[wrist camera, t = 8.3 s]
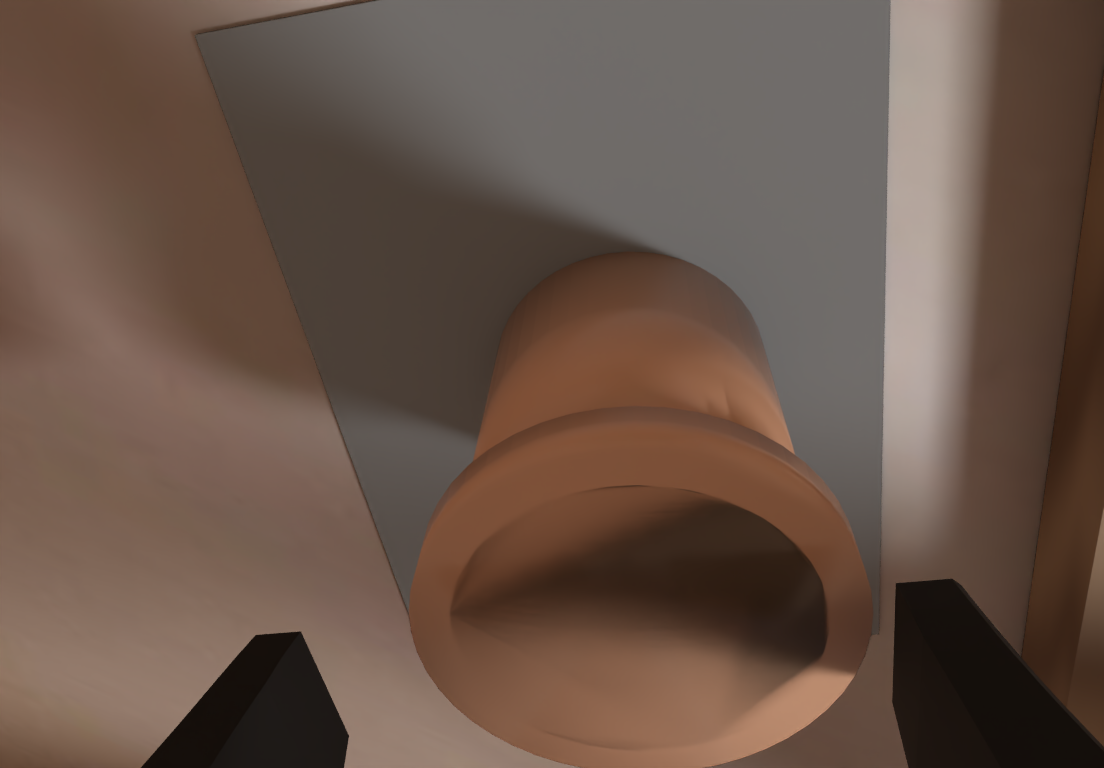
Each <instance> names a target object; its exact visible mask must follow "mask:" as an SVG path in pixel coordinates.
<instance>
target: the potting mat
mask: <svg viewBox="0 0 1104 768" xmlns="http://www.w3.org/2000/svg"><path fill="white" fill-rule="evenodd" d="M195 38H196V40H197V43H198V46H199V48H200V51H201V54H202V57H203V59H204V62H205V65H206V67H207V70H208V73H209V75H210V78H211V81H212V84H213V86H214V89H215V92H216V94H217V97H218V100H219V102H220V105H221V108H222V111H223V113H224V116H225V119H226V121H227V124H228V127H229V130H230V132H231V135H232V138H233V140H234V143H235V146H236V148H237V151H238V154H239V157H240V159H241V162H242V165H243V167H244V170H245V173H246V175H247V178H248V181H249V184H250V186H251V189H252V192H253V194H254V197H255V200H256V202H257V205H258V208H259V211H260V213H261V216H262V219H263V221H264V224H265V227H266V230H267V232H268V235H269V238H270V240H271V243H272V246H273V248H274V251H275V254H276V257H277V259H278V262H279V265H280V267H281V270H282V273H283V275H284V278H285V281H286V284H287V286H288V289H289V292H290V294H291V297H292V300H293V303H294V305H295V308H296V311H297V313H298V316H299V319H300V321H301V324H302V327H303V330H304V332H305V335H306V338H307V340H308V343H309V346H310V348H311V351H312V354H313V357H314V359H315V362H316V365H317V367H318V370H319V373H320V375H321V378H322V381H323V384H324V386H325V389H326V392H327V394H328V397H329V400H330V403H331V405H332V408H333V411H334V413H335V416H336V419H337V421H338V424H339V427H340V430H341V432H342V435H343V438H344V440H345V443H346V446H347V448H348V451H349V454H350V457H351V459H352V462H353V465H354V467H355V470H356V473H357V476H358V478H359V481H360V484H361V486H362V489H363V492H364V494H365V497H366V500H367V503H368V505H369V508H370V511H371V513H372V516H373V519H374V521H375V524H376V527H377V530H378V532H379V535H380V538H381V540H382V543H383V546H384V548H385V551H386V554H387V557H388V559H389V562H390V565H391V567H392V570H393V573H394V576H395V578H396V581H397V584H398V586H399V589H400V592H401V594H402V597H403V600H404V603H405V605H406V608H407V611H408V613H409V603H410V590H411V586H412V582H413V578H414V575H415V571H416V567H417V563H418V559H419V556H420V552H421V548H422V544H423V541H424V537H425V533H426V529H427V526H428V523H429V520H430V518H431V516H432V514H433V512H434V510H435V507H436V505H437V503H438V502H439V500H440V499H441V497H442V496H443V494H444V493H445V492H446V490H447V489H448V487H449V486H450V484H451V483H452V482H453V481H454V480H455V479H456V478H457V477H458V476H459V475H460V473H461V472H462V471H463V470H464V469H465V468H466V467H467V466H468V465H469V464H471V463H472V462H473V458H474V454H475V449H476V445H477V440H478V436H479V431H480V427H481V422H482V417H483V413H484V408H485V404H486V399H487V395H488V390H489V386H490V381H491V377H492V372H493V367H494V363H495V358H496V354H497V349H498V345H499V342H500V338H501V335H502V332H503V330H504V328H505V325H506V323H507V321H508V319H509V317H510V316H511V314H512V313H513V311H514V310H515V308H516V306H517V305H518V304H519V303H520V302H521V300H522V299H523V298H524V297H525V296H526V295H527V293H528V292H530V291H531V290H532V289H533V288H534V287H535V286H536V285H538V284H539V283H540V282H541V281H542V280H544V279H545V278H547V277H548V276H550V275H551V274H553V273H554V272H556V271H558V270H560V269H562V268H564V267H566V266H568V265H570V264H572V263H575V262H578V261H581V260H584V259H586V258H589V257H594V256H598V255H603V254H608V253H618V252H648V253H655V254H661V255H667V256H670V257H674V258H677V259H681V260H684V261H686V262H689V263H691V264H693V265H696V266H698V267H701V268H702V269H704V270H706V271H707V272H709V273H711V274H712V275H714V276H716V277H717V278H718V279H720V280H721V281H722V282H723V283H725V284H726V285H727V286H728V287H730V288H731V289H732V290H733V291H734V293H735V294H736V295H737V296H738V297H739V298H740V299H741V300H742V301H743V303H744V304H745V306H746V307H747V308H748V310H749V311H750V313H751V314H752V316H753V318H754V320H755V322H756V324H757V326H758V329H759V332H760V335H761V338H762V341H763V345H764V348H765V352H766V355H767V359H768V362H769V366H770V369H771V372H772V376H773V379H774V383H775V386H776V390H777V393H778V397H779V400H780V404H781V407H782V411H783V414H784V418H785V421H786V425H787V428H788V432H789V435H790V439H791V442H792V445H793V449H794V452H795V455H796V456H797V457H799V458H800V459H801V460H803V461H804V462H805V463H806V464H807V465H808V466H809V467H810V468H811V469H812V470H813V471H814V472H815V473H816V474H817V475H818V476H819V477H820V478H821V479H822V480H823V481H824V482H825V483H826V485H827V486H828V487H829V489H830V490H831V491H832V493H833V494H834V495H835V497H836V498H837V500H838V501H839V503H840V505H841V507H842V509H843V511H844V513H845V515H846V517H847V519H848V521H849V523H850V526H851V529H852V532H853V535H854V538H855V541H856V544H857V547H858V550H859V553H860V556H861V559H862V562H863V565H864V568H865V571H866V575H867V578H868V581H869V585H870V588H871V593H872V604H873V622H872V632H871V635H874V634H879V602H880V547H881V492H882V437H883V382H884V328H885V273H886V218H887V163H888V108H889V54H890V0H374V1H369V2H363V3H358V4H353V5H348V6H342V7H337V8H332V9H327V10H321V11H316V12H311V13H306V14H300V15H295V16H290V17H284V18H279V19H274V20H269V21H263V22H258V23H253V24H248V25H242V26H237V27H232V28H227V29H221V30H216V31H211V32H206V33H200V34H196V35H195Z"/></svg>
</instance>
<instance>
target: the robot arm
mask: <svg viewBox="0 0 1104 768" xmlns="http://www.w3.org/2000/svg"><path fill="white" fill-rule="evenodd" d="M892 702H893V707H894V711H895V715H896V719H897V723H898V727H899V731H900V735H901V739H902V743H903V747H904V751H905V755H906V759H907V763H908V767H909V768H1104V746H1103V745H1102V744H1101V743H1100V742H1099V741H1098V740H1097V739H1096V738H1095V737H1094V736H1093V735H1092V734H1091V733H1090V732H1089V731H1088V730H1087V729H1086V727H1085V726H1084V725H1083V724H1082V723H1081V722H1080V721H1079V720H1078V719H1077V718H1076V717H1075V716H1074V715H1073V714H1072V713H1071V712H1070V711H1069V710H1068V709H1067V708H1066V707H1065V705H1064V704H1063V703H1062V702H1061V701H1060V700H1059V699H1058V698H1057V697H1056V696H1055V695H1054V694H1053V693H1052V691H1051V690H1050V689H1049V688H1048V687H1047V686H1046V685H1045V684H1044V683H1043V682H1042V680H1041V679H1040V678H1039V677H1038V676H1037V675H1036V674H1035V673H1034V671H1033V670H1032V669H1031V668H1030V667H1029V666H1028V665H1027V663H1026V662H1025V661H1024V660H1023V659H1022V658H1021V657H1020V656H1019V654H1018V653H1017V652H1016V651H1015V650H1014V649H1013V648H1012V646H1011V645H1010V644H1009V643H1008V642H1007V641H1006V639H1005V638H1004V637H1003V636H1002V635H1001V633H1000V632H999V631H998V630H997V629H996V628H995V626H994V625H993V624H992V623H991V622H990V620H989V619H988V618H987V617H986V615H985V614H984V613H983V612H982V611H981V609H980V608H979V607H978V606H977V604H976V603H975V602H974V601H973V600H972V598H971V597H970V596H969V594H968V593H967V592H966V591H965V589H964V588H963V587H962V586H961V585H960V584H959V583H957V582H956V581H954V580H953V579H944V580H932V581H919V582H907V583H896V598H895V631H894V665H893V699H892ZM348 738H349V735H348V733H347V731H346V729H345V726H344V724H343V722H342V720H341V718H340V716H339V713H338V711H337V709H336V707H335V705H334V703H333V700H332V698H331V696H330V694H329V692H328V690H327V687H326V685H325V683H324V681H323V679H322V677H321V674H320V672H319V670H318V668H317V666H316V664H315V661H314V659H313V657H312V655H311V653H310V651H309V648H308V646H307V644H306V642H305V640H304V638H303V635H302V633H301V632H289V633H276V634H264V635H255V637H254V638H253V639H252V640H251V641H250V642H249V643H248V644H247V645H246V647H245V648H244V649H243V650H242V651H241V652H240V653H239V655H238V656H237V657H236V658H235V659H234V660H233V661H232V663H231V664H230V665H229V666H228V667H227V668H226V670H225V671H224V672H223V673H222V674H221V675H220V677H219V678H218V679H217V680H216V681H215V682H214V684H213V685H212V686H211V687H210V688H209V690H208V691H207V692H206V693H205V694H204V695H203V697H202V698H201V699H200V700H199V701H198V703H197V704H196V705H195V706H194V707H193V708H192V710H191V711H190V712H189V713H188V714H187V715H186V717H185V718H184V719H183V720H182V721H181V722H180V724H179V725H178V726H177V727H176V728H175V729H174V731H173V732H172V733H171V734H170V735H169V736H168V737H167V739H166V740H165V741H164V742H163V743H162V744H161V745H160V747H159V748H158V749H157V750H156V751H155V752H154V753H153V755H152V756H151V757H150V758H149V759H148V760H147V761H146V763H145V764H144V765H143V766H142V767H141V768H344V763H345V757H346V751H347V744H348Z"/></svg>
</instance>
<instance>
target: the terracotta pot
mask: <svg viewBox="0 0 1104 768" xmlns="http://www.w3.org/2000/svg"><path fill="white" fill-rule="evenodd" d="M409 617H410V626H411V633H412V636H413V640H414V643H415V647H416V650H417V653H418V655H419V657H420V659H421V661H422V663H423V665H424V667H425V669H426V671H427V673H428V674H429V676H430V677H431V679H432V680H433V681H434V683H435V684H436V686H437V687H438V689H439V690H440V691H441V692H442V693H443V694H444V695H445V696H446V698H447V699H448V700H449V701H450V702H451V703H452V704H453V705H454V706H455V707H456V708H457V709H458V710H460V711H461V712H462V713H463V714H464V715H465V716H467V717H468V718H469V719H470V720H471V721H473V722H474V723H476V724H477V725H479V726H480V727H482V728H483V729H485V730H486V731H488V732H489V733H491V734H492V735H494V736H496V737H498V738H500V739H502V740H504V741H505V742H507V743H509V744H511V745H513V746H515V747H518V748H520V749H523V750H525V751H527V752H530V753H532V754H535V755H537V756H541V757H544V758H547V759H550V760H553V761H556V762H560V763H564V764H568V765H573V766H577V767H582V768H705V767H710V766H715V765H719V764H723V763H726V762H730V761H734V760H737V759H741V758H744V757H746V756H749V755H752V754H754V753H757V752H759V751H762V750H765V749H767V748H769V747H771V746H773V745H775V744H777V743H779V742H781V741H783V740H785V739H787V738H789V737H790V736H792V735H793V734H795V733H797V732H798V731H800V730H801V729H803V728H804V727H806V726H808V725H809V724H810V723H811V722H813V721H814V720H815V719H816V718H818V717H819V716H820V715H821V714H822V713H824V712H825V711H826V710H827V709H828V708H829V707H830V706H831V705H832V704H833V703H834V702H835V701H836V700H837V699H838V698H839V697H840V695H841V694H842V693H843V692H844V691H845V689H846V688H847V686H848V685H849V683H850V682H851V681H852V679H853V678H854V676H855V675H856V673H857V671H858V669H859V667H860V665H861V663H862V661H863V659H864V657H865V654H866V651H867V647H868V644H869V640H870V637H871V632H872V622H873V604H872V593H871V588H870V585H869V581H868V578H867V575H866V571H865V568H864V565H863V562H862V559H861V556H860V553H859V550H858V547H857V544H856V541H855V538H854V535H853V532H852V529H851V526H850V523H849V521H848V519H847V517H846V515H845V513H844V511H843V509H842V507H841V505H840V503H839V501H838V500H837V498H836V497H835V495H834V494H833V493H832V491H831V490H830V489H829V487H828V486H827V485H826V483H825V482H824V481H823V480H822V479H821V478H820V477H819V476H818V475H817V474H816V473H815V472H814V471H813V470H812V469H811V468H810V467H809V466H808V465H807V464H806V463H805V462H804V461H803V460H801V459H800V458H799V457H797V456H796V455H795V452H794V449H793V445H792V442H791V439H790V435H789V432H788V428H787V425H786V421H785V418H784V414H783V411H782V407H781V404H780V400H779V397H778V393H777V390H776V386H775V383H774V379H773V376H772V372H771V369H770V366H769V362H768V359H767V355H766V352H765V348H764V345H763V341H762V338H761V335H760V332H759V329H758V326H757V324H756V322H755V320H754V318H753V316H752V314H751V313H750V311H749V310H748V308H747V307H746V306H745V304H744V303H743V301H742V300H741V299H740V298H739V297H738V296H737V295H736V294H735V293H734V291H733V290H732V289H731V288H730V287H728V286H727V285H726V284H725V283H723V282H722V281H721V280H720V279H718V278H717V277H716V276H714V275H712V274H711V273H709V272H707V271H706V270H704V269H702V268H701V267H698V266H696V265H693V264H691V263H689V262H686V261H684V260H681V259H677V258H674V257H670V256H667V255H661V254H655V253H648V252H618V253H608V254H603V255H598V256H594V257H589V258H586V259H584V260H581V261H578V262H575V263H572V264H570V265H568V266H566V267H564V268H562V269H560V270H558V271H556V272H554V273H553V274H551V275H550V276H548V277H547V278H545V279H544V280H542V281H541V282H540V283H539V284H538V285H536V286H535V287H534V288H533V289H532V290H531V291H530V292H528V293H527V295H526V296H525V297H524V298H523V299H522V300H521V302H520V303H519V304H518V305H517V306H516V308H515V310H514V311H513V313H512V314H511V316H510V317H509V319H508V321H507V323H506V325H505V328H504V330H503V332H502V335H501V338H500V342H499V345H498V349H497V354H496V358H495V363H494V367H493V372H492V377H491V381H490V386H489V390H488V395H487V399H486V404H485V408H484V413H483V417H482V422H481V427H480V431H479V436H478V440H477V445H476V449H475V454H474V458H473V462H472V463H471V464H469V465H468V466H467V467H466V468H465V469H464V470H463V471H462V472H461V473H460V475H459V476H458V477H457V478H456V479H455V480H454V481H453V482H452V483H451V484H450V486H449V487H448V489H447V490H446V492H445V493H444V494H443V496H442V497H441V499H440V500H439V502H438V503H437V505H436V507H435V510H434V512H433V514H432V516H431V518H430V520H429V523H428V526H427V529H426V533H425V537H424V541H423V544H422V548H421V552H420V556H419V559H418V563H417V567H416V571H415V575H414V578H413V582H412V586H411V590H410V603H409Z"/></svg>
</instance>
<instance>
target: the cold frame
mask: <svg viewBox="0 0 1104 768" xmlns="http://www.w3.org/2000/svg"><path fill="white" fill-rule="evenodd" d="M1021 658H1022V659H1023V660H1024V661H1025V662H1026V663H1027V665H1028V666H1029V667H1030V668H1031V669H1032V670H1033V671H1034V673H1035V674H1036V675H1037V676H1038V677H1039V678H1040V679H1041V680H1042V682H1043V683H1044V684H1045V685H1046V686H1047V687H1048V688H1049V689H1050V690H1051V691H1052V693H1053V694H1054V695H1055V696H1056V697H1057V698H1058V699H1059V700H1060V701H1061V702H1062V703H1063V704H1064V705H1065V707H1066V708H1067V709H1068V710H1069V711H1070V712H1071V713H1072V714H1073V715H1074V716H1075V717H1076V718H1077V719H1078V720H1079V721H1080V722H1081V723H1082V724H1083V725H1084V726H1085V727H1086V729H1087V730H1088V731H1089V732H1090V733H1091V734H1092V735H1093V736H1094V737H1095V738H1096V739H1097V740H1098V741H1099V742H1100V743H1101V744H1102V745H1103V746H1104V73H1103V80H1102V87H1101V95H1100V102H1099V109H1098V116H1097V123H1096V130H1095V137H1094V144H1093V152H1092V159H1091V166H1090V173H1089V180H1088V187H1087V194H1086V201H1085V208H1084V216H1083V223H1082V230H1081V237H1080V244H1079V251H1078V258H1077V265H1076V272H1075V280H1074V287H1073V294H1072V301H1071V308H1070V315H1069V322H1068V329H1067V337H1066V344H1065V351H1064V358H1063V365H1062V372H1061V379H1060V386H1059V393H1058V401H1057V408H1056V415H1055V422H1054V429H1053V436H1052V443H1051V450H1050V458H1049V465H1048V472H1047V479H1046V486H1045V493H1044V500H1043V507H1042V514H1041V522H1040V529H1039V536H1038V543H1037V550H1036V557H1035V564H1034V571H1033V578H1032V586H1031V593H1030V600H1029V607H1028V614H1027V621H1026V628H1025V635H1024V643H1023V650H1022V657H1021Z"/></svg>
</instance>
